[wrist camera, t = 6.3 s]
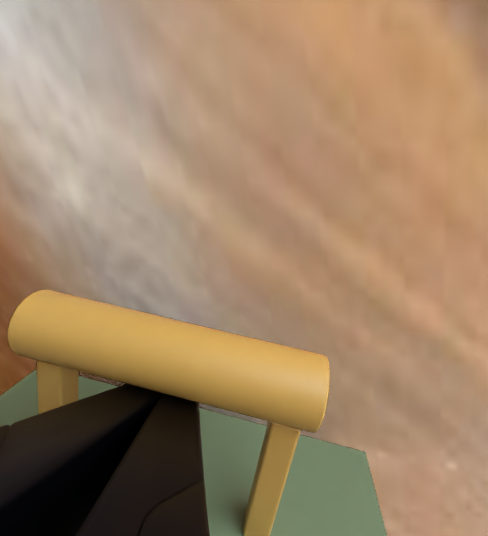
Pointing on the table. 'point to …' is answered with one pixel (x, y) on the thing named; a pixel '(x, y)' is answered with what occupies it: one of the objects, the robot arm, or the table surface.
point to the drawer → (212, 423)
